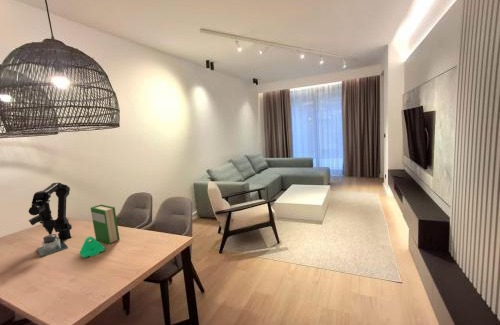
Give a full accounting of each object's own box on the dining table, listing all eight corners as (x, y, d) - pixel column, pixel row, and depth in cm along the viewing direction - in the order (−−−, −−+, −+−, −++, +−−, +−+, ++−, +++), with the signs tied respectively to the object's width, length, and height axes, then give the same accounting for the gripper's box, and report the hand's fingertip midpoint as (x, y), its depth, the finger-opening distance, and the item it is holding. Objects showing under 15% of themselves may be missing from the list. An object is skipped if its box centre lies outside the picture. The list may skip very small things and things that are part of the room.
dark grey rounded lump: (56, 240, 169) (55, 233, 168) (58, 243, 164) (57, 235, 163) (43, 244, 164) (42, 236, 163) (45, 247, 159) (44, 239, 158)
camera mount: (83, 259, 147) (80, 243, 145) (80, 255, 152) (77, 240, 151) (105, 251, 155) (103, 236, 154) (102, 248, 161) (99, 233, 159)
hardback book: (119, 240, 170) (114, 207, 167) (108, 244, 164) (103, 210, 161) (106, 235, 180) (101, 204, 177) (96, 239, 174) (90, 207, 171)
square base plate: (62, 241, 175) (60, 233, 174) (67, 247, 164) (66, 239, 163) (36, 249, 165) (35, 241, 164) (40, 257, 154) (39, 248, 153)
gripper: (26, 211, 161) (31, 234, 163) (30, 216, 148) (35, 241, 151) (47, 206, 169) (52, 228, 171) (53, 211, 157) (57, 234, 159)
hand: (49, 232), depth 163 cm, fingers open, 9 cm apart
